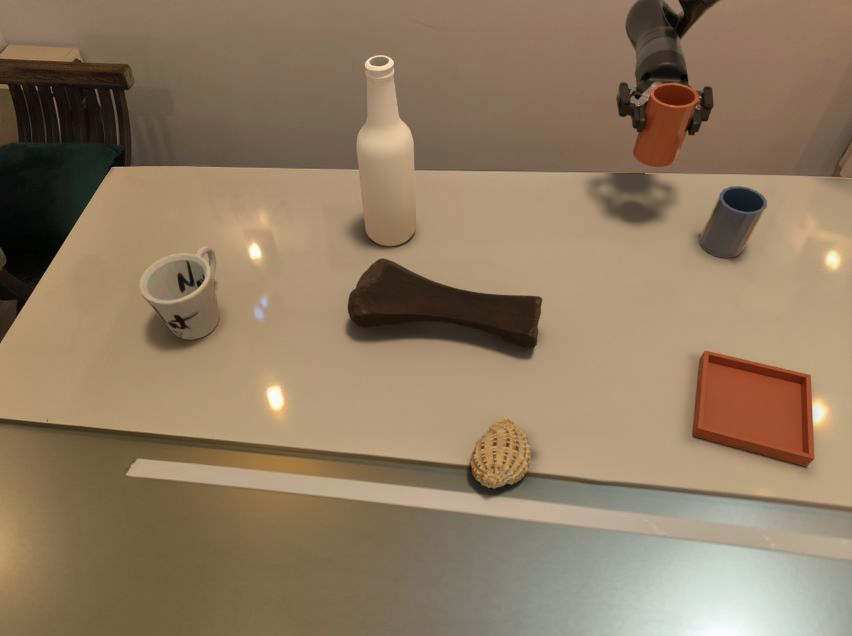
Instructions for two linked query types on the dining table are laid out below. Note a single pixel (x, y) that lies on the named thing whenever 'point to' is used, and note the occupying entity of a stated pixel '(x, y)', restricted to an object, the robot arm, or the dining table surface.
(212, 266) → the mug
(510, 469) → the seashell
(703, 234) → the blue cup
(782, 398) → the terracotta tray
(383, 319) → the dark brown bone
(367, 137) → the alcohol
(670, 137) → the terracotta cup
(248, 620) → the dining table surface
